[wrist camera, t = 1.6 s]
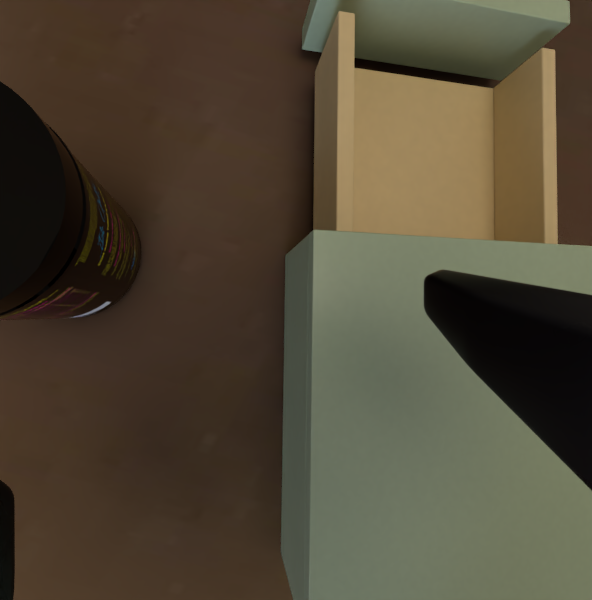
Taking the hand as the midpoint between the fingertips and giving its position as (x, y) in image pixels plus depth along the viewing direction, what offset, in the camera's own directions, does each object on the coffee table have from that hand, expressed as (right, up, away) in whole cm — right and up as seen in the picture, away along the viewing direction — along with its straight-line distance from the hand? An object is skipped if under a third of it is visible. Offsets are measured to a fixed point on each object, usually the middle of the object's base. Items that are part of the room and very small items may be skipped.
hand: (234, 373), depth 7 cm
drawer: (+8, +11, +15) cm, 20 cm away
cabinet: (+7, -4, +15) cm, 17 cm away
